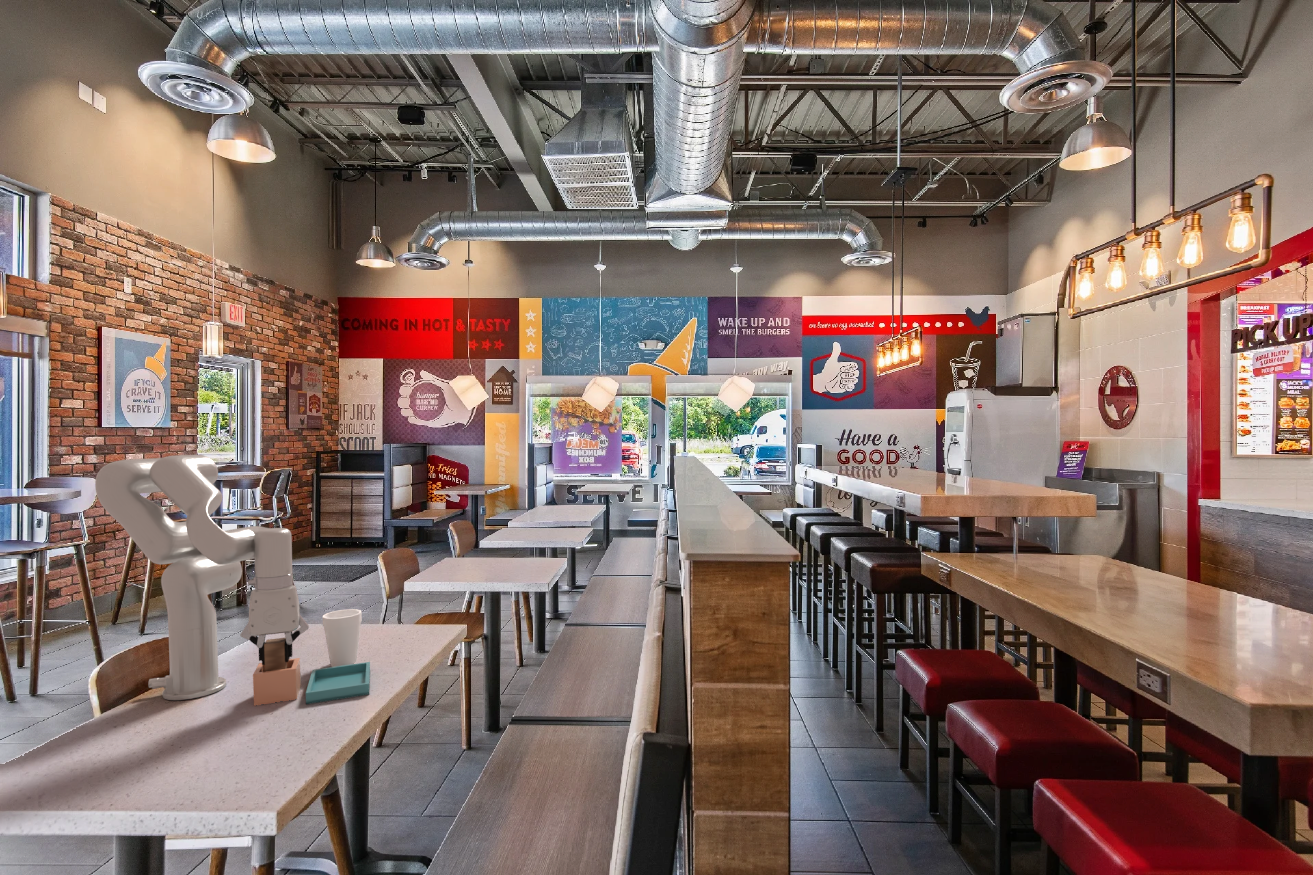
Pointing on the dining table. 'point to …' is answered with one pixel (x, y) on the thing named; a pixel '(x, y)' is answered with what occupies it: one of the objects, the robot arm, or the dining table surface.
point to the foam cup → (342, 635)
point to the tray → (338, 682)
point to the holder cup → (277, 683)
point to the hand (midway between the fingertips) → (276, 660)
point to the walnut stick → (275, 654)
